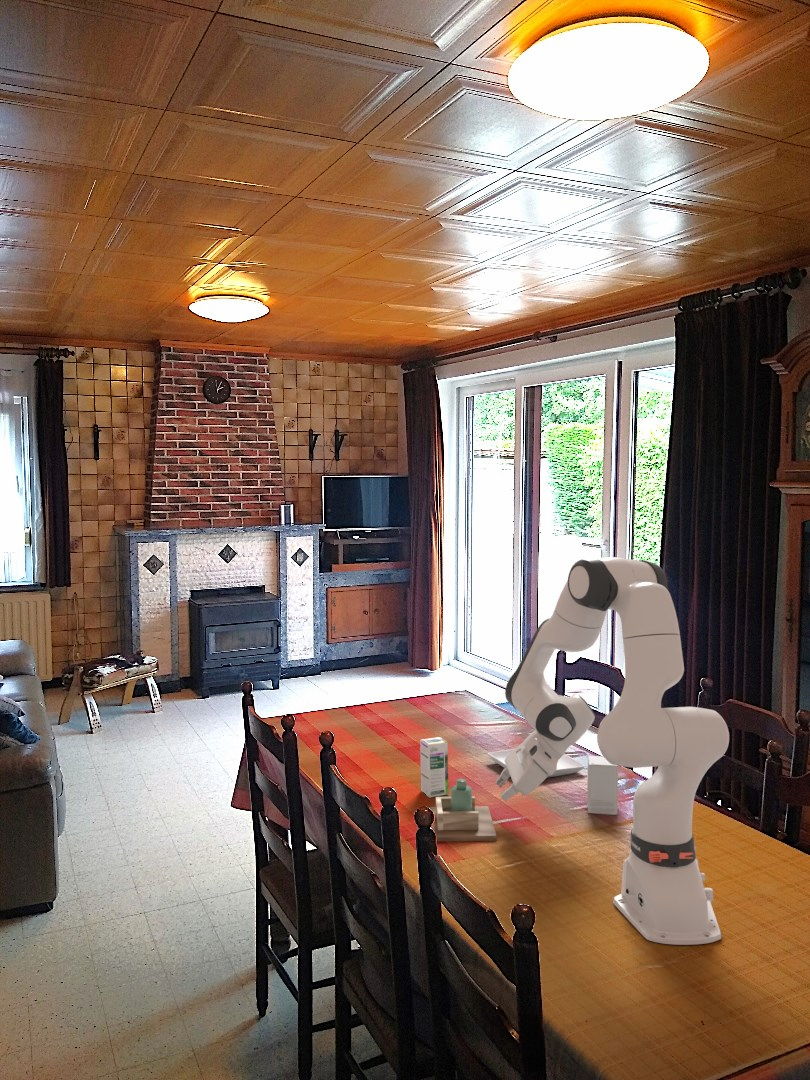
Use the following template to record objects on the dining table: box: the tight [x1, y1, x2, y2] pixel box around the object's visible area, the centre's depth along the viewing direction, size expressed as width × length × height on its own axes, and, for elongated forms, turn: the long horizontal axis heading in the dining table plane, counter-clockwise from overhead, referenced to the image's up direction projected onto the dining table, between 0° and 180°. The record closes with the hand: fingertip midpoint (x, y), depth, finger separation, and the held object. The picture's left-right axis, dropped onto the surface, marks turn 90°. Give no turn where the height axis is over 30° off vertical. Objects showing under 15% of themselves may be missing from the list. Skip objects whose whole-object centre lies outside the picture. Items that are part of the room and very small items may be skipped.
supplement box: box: [586, 755, 619, 816], centre depth 219 cm, size 7×7×13 cm
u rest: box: [426, 795, 497, 842], centre depth 210 cm, size 18×16×5 cm
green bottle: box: [450, 778, 473, 811], centre depth 210 cm, size 5×5×10 cm
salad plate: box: [487, 748, 586, 779], centre depth 251 cm, size 21×21×3 cm
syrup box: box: [419, 736, 450, 799], centre depth 232 cm, size 6×6×14 cm
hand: (500, 791), depth 210 cm, fingers open, 8 cm apart
